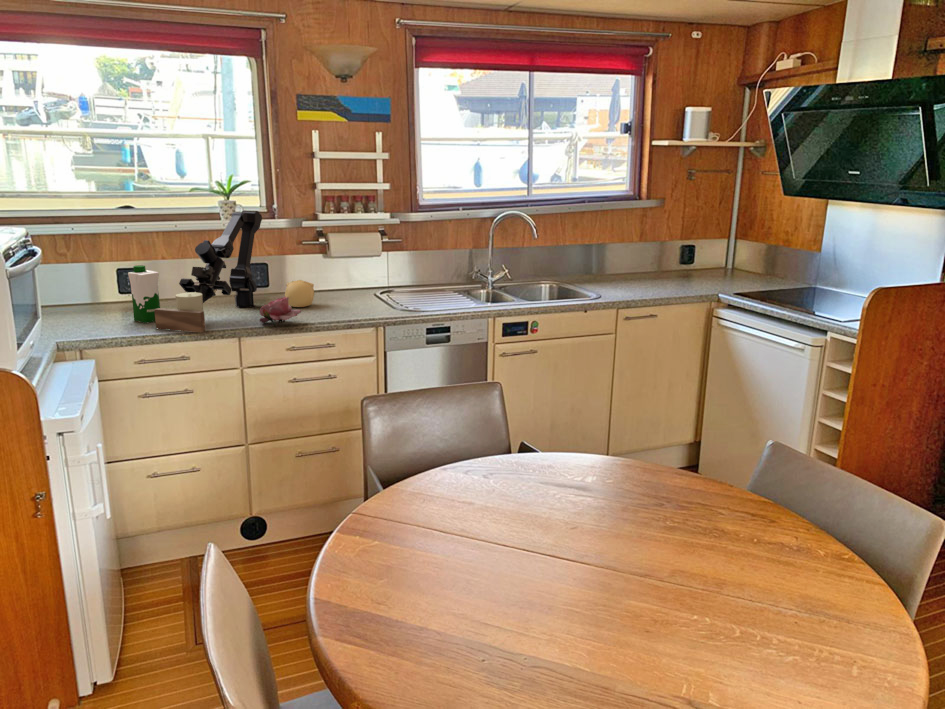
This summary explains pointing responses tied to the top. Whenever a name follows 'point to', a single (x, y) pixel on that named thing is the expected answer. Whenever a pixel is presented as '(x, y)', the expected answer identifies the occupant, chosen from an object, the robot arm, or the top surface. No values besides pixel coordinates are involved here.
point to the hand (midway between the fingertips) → (197, 305)
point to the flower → (277, 311)
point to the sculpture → (299, 293)
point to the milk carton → (144, 293)
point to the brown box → (180, 320)
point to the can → (189, 301)
